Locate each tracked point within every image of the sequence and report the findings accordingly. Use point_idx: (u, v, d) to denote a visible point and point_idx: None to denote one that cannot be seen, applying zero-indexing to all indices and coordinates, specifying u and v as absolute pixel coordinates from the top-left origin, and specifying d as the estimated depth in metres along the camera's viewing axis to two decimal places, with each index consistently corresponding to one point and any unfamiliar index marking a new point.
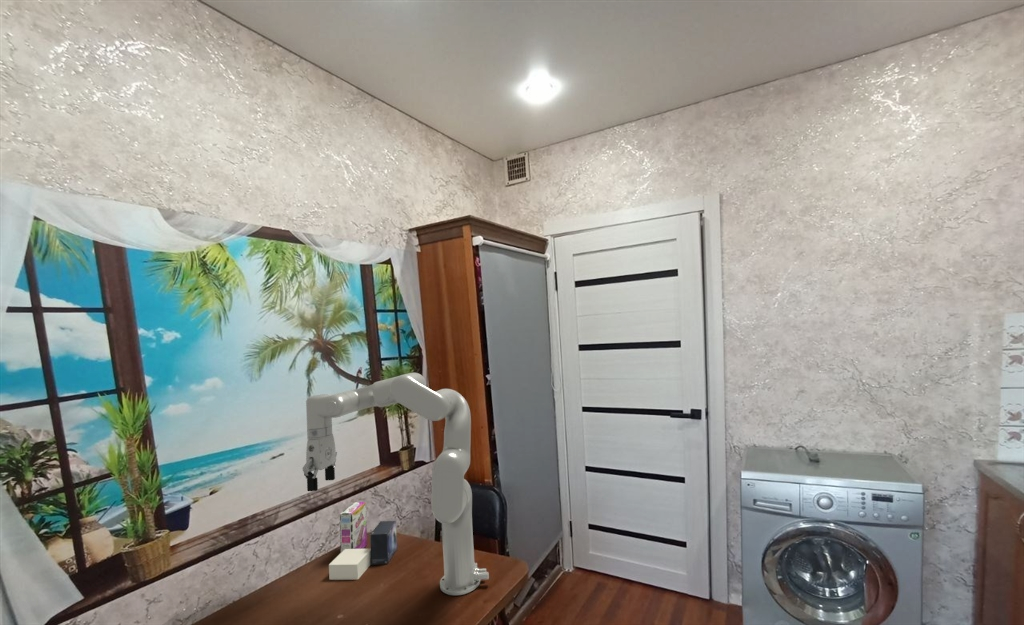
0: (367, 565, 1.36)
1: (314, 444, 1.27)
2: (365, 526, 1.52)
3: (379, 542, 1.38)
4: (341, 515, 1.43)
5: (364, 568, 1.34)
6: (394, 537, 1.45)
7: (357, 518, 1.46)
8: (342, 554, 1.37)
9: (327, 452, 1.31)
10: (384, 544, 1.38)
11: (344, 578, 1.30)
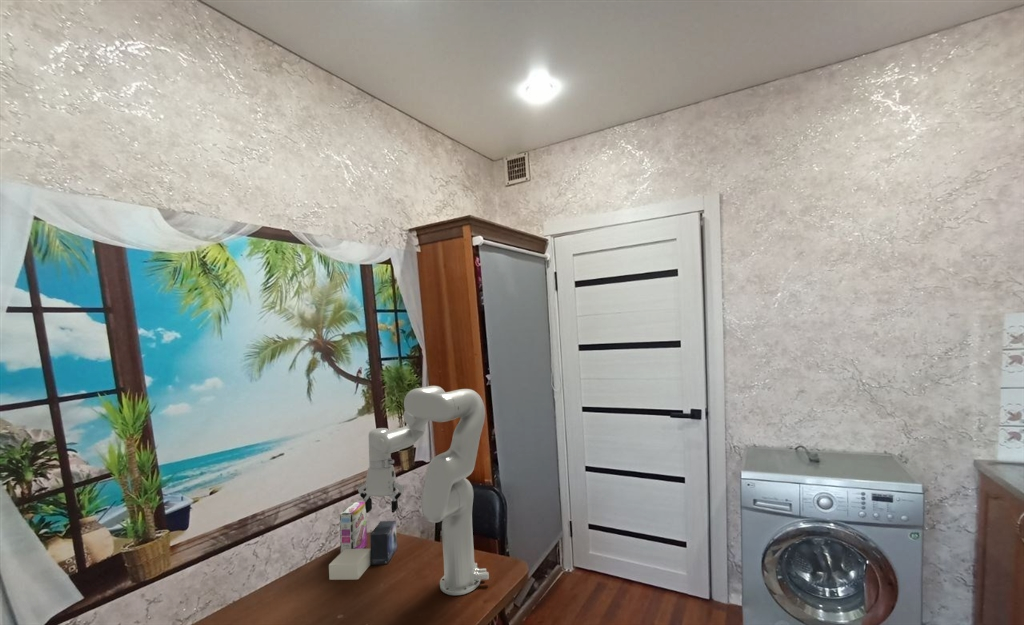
0: (367, 565, 1.36)
1: (393, 469, 1.46)
2: (365, 526, 1.52)
3: (379, 542, 1.38)
4: (341, 515, 1.43)
5: (364, 568, 1.34)
6: (394, 537, 1.45)
7: (357, 518, 1.46)
8: (342, 554, 1.37)
9: None
10: (384, 544, 1.38)
11: (344, 578, 1.30)
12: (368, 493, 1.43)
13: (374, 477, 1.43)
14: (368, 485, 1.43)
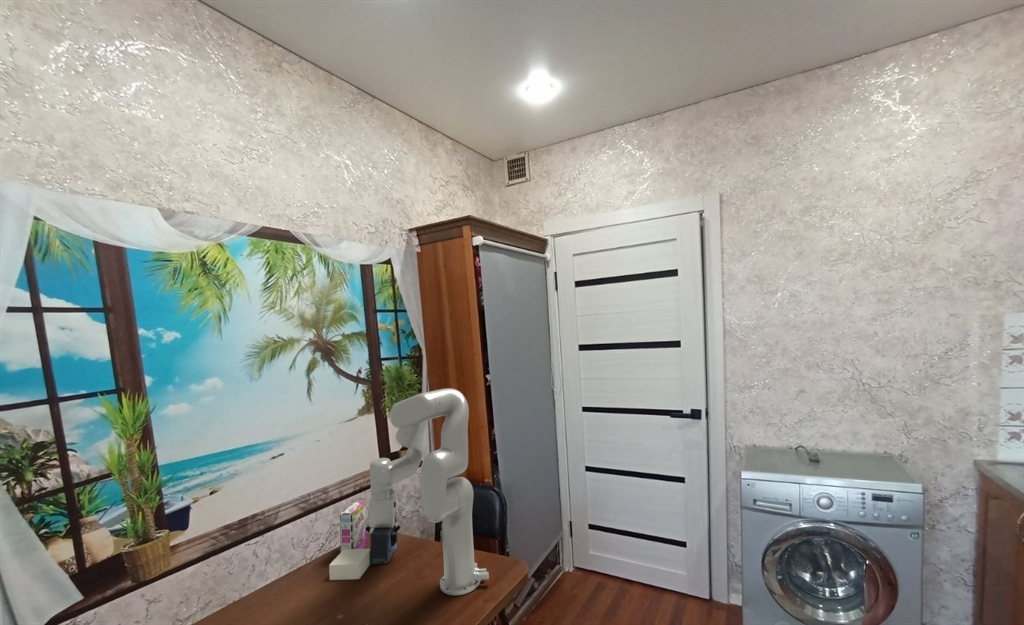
0: (367, 565, 1.36)
1: (395, 500, 1.45)
2: None
3: (379, 542, 1.38)
4: (341, 515, 1.43)
5: (364, 567, 1.34)
6: None
7: (357, 518, 1.46)
8: (342, 554, 1.37)
9: None
10: (384, 543, 1.38)
11: (345, 578, 1.30)
12: (370, 525, 1.42)
13: (375, 509, 1.42)
14: (370, 516, 1.42)
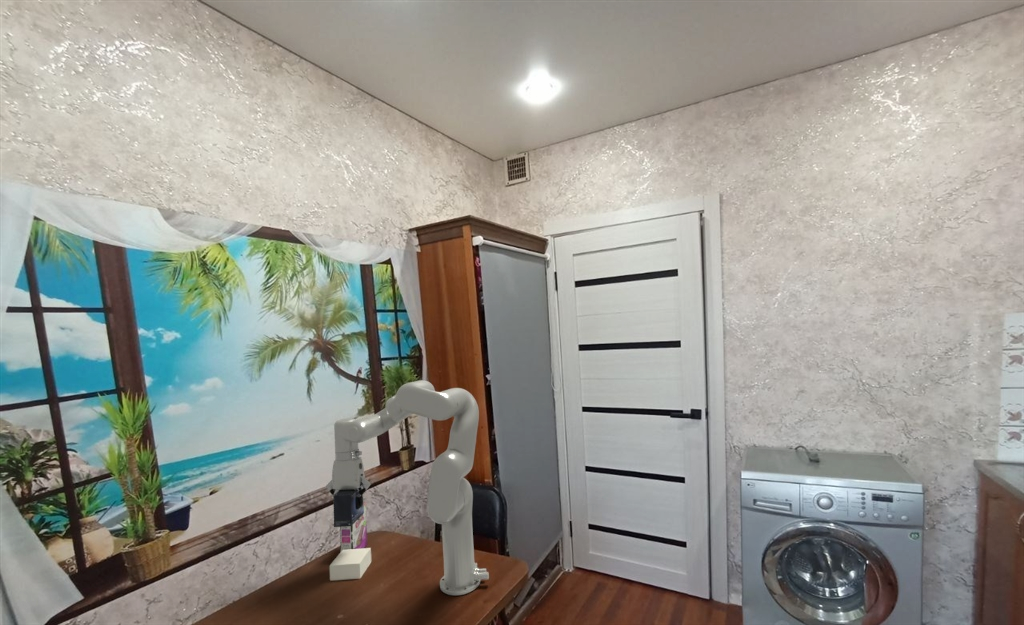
0: (367, 564, 1.37)
1: (361, 461, 1.38)
2: (365, 526, 1.52)
3: (342, 504, 1.32)
4: None
5: (365, 567, 1.34)
6: None
7: None
8: (341, 555, 1.37)
9: None
10: (347, 505, 1.32)
11: (345, 578, 1.30)
12: (334, 487, 1.36)
13: (340, 470, 1.35)
14: (334, 478, 1.36)
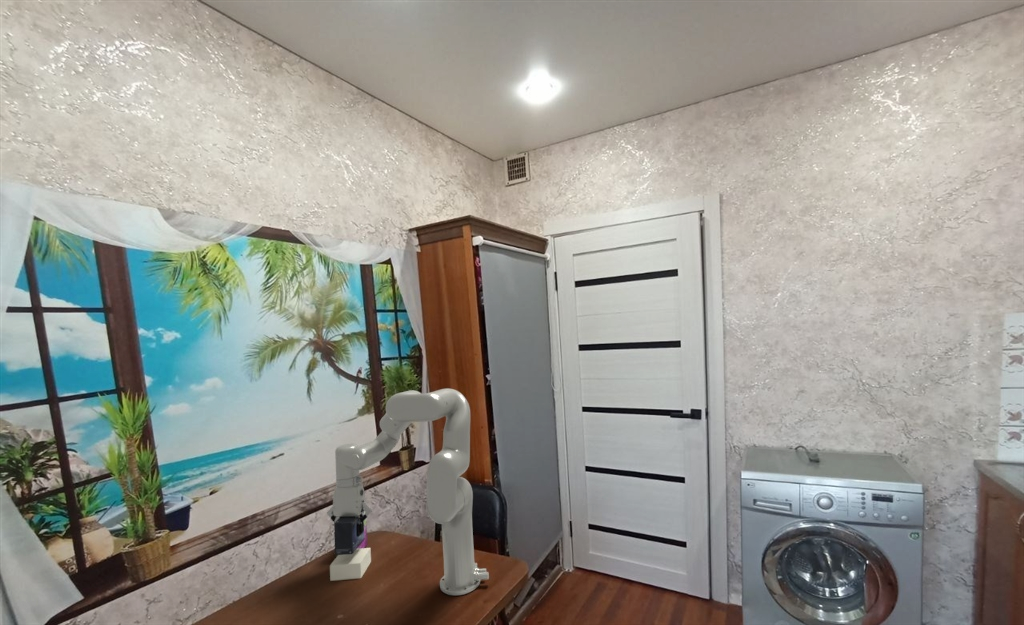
0: (367, 564, 1.37)
1: (362, 488, 1.38)
2: (365, 526, 1.52)
3: (343, 531, 1.31)
4: None
5: (365, 567, 1.34)
6: None
7: None
8: (341, 555, 1.37)
9: None
10: (348, 533, 1.31)
11: (346, 578, 1.30)
12: (335, 513, 1.35)
13: (341, 497, 1.35)
14: (335, 505, 1.35)
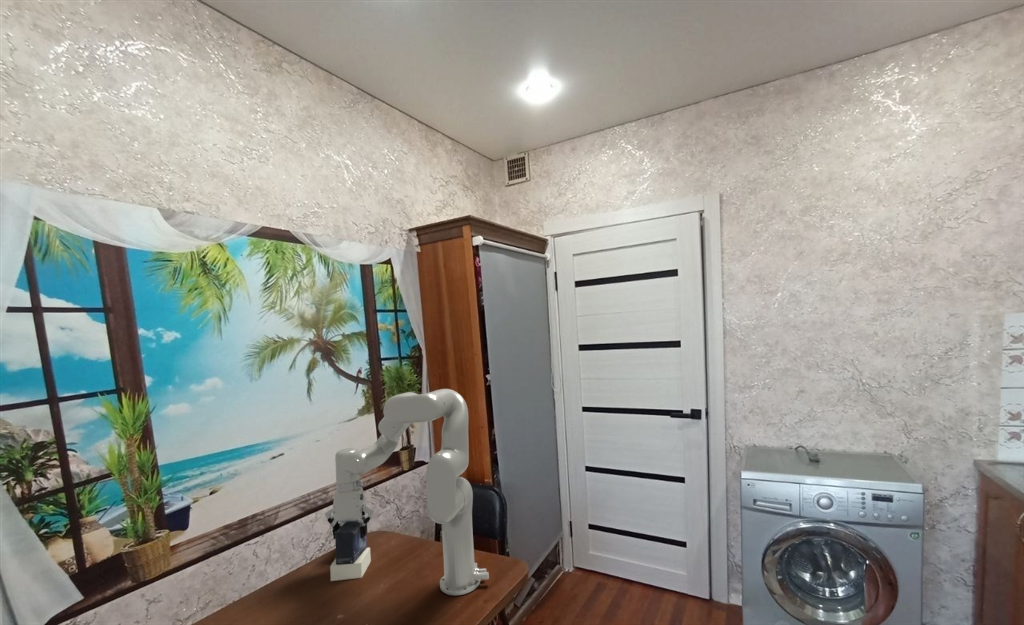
0: (367, 564, 1.37)
1: (362, 492, 1.38)
2: None
3: (344, 541, 1.31)
4: None
5: (365, 566, 1.35)
6: None
7: None
8: None
9: None
10: (349, 542, 1.31)
11: (347, 578, 1.30)
12: (335, 518, 1.35)
13: (341, 501, 1.35)
14: (335, 509, 1.35)
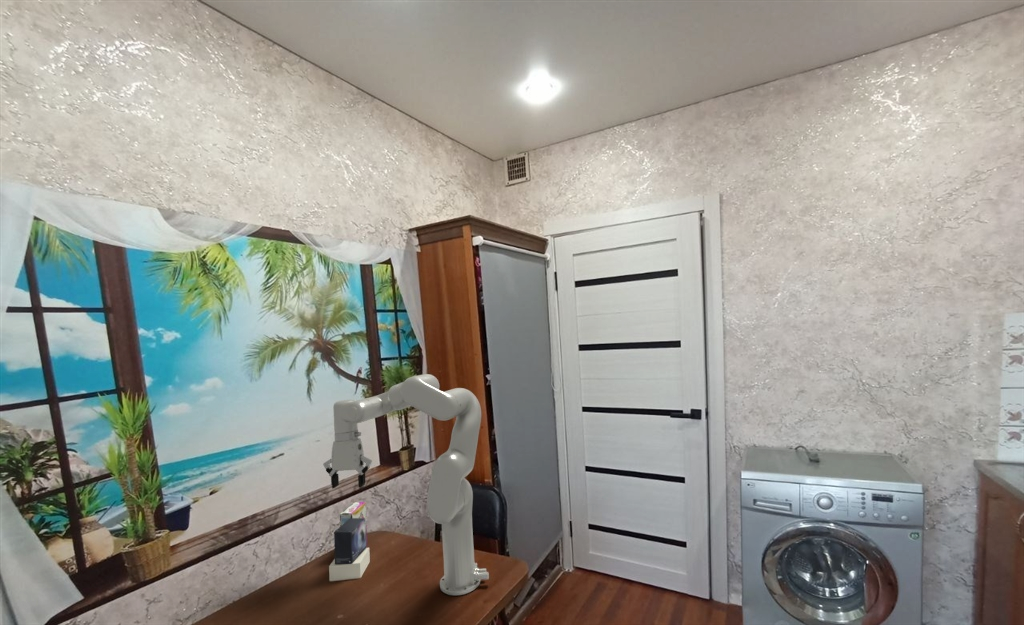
0: (366, 564, 1.37)
1: (360, 442, 1.39)
2: None
3: (343, 541, 1.31)
4: (341, 515, 1.43)
5: (364, 567, 1.35)
6: (362, 535, 1.37)
7: None
8: None
9: None
10: (348, 542, 1.31)
11: (345, 578, 1.30)
12: (334, 467, 1.36)
13: (339, 450, 1.36)
14: (333, 459, 1.36)
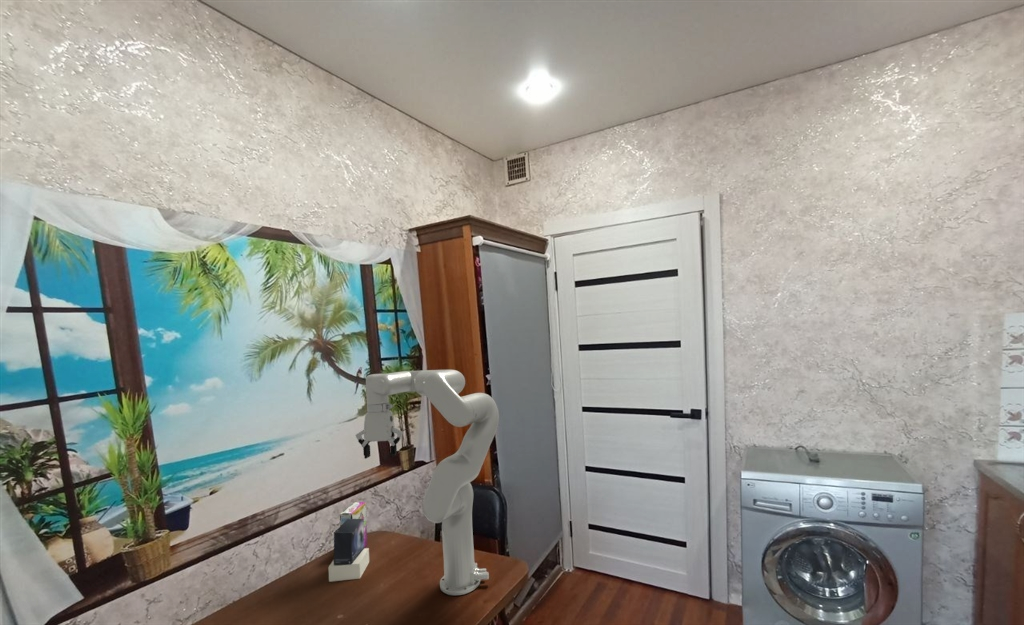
0: (366, 564, 1.37)
1: (392, 415, 1.43)
2: (365, 526, 1.52)
3: (343, 541, 1.31)
4: (341, 515, 1.43)
5: (364, 567, 1.34)
6: (361, 536, 1.37)
7: (357, 518, 1.46)
8: None
9: None
10: (348, 543, 1.31)
11: (345, 578, 1.30)
12: (366, 438, 1.40)
13: (372, 422, 1.40)
14: (366, 430, 1.40)
